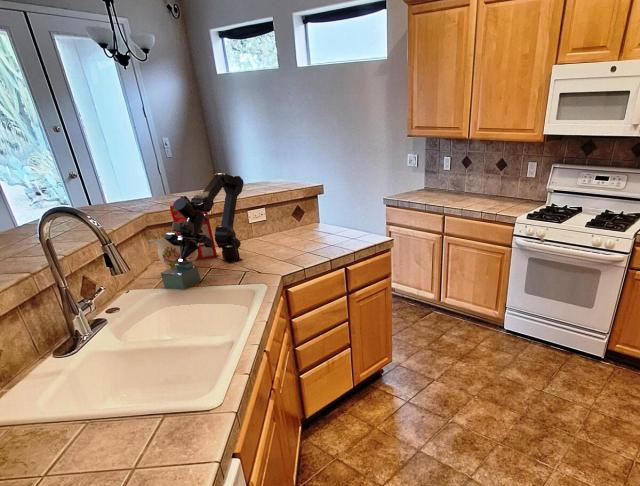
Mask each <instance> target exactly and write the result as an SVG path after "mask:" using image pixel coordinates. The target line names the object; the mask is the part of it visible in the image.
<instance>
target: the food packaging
mask: <svg viewBox="0 0 640 486" xmlns="http://www.w3.org/2000/svg"><path fill="white" fill-rule="evenodd" d="M173 204H174V203H170V204H169V210H170V213H171V217H172V222H177V223H185V222H186V221H187V220H188V218H184V217H183V216H182V215H181V214H180V213H179V212H177V211H176V210H175V209H174V207H173ZM202 213H203V214H204V215H206V217H207V218H208V221H204V222H203V225H202V228H201V230H202V231H203V233H200V234H199V235H206V236H208V237H209V238H210V239H211V240H212V241H213V246H212V248H206V247H205V245H204V244H205V243H200V244H199V247H200V248H199V249H197V250H198V256H197V258H196V259H195V260H194V261H196V260H203V259H209V258H210V259H211V258H218V254H217V249H216V244H215V239H214V234H213V231H212V227H211V223H210V218H209V212H202ZM178 233H179V232H177V231H175V234H176V235H178V236H182V235H180V234H178ZM194 256H195V251H194V252H193V253H191V254H190V255H189V256H188V258H187V259H188V260H190V259H192V258H193V257H194Z"/></svg>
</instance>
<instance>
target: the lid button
mask: <svg viewBox="0 0 640 486" xmlns="http://www.w3.org/2000/svg"><path fill="white" fill-rule="evenodd" d="M178 263H179V264H180V265H182V264H188V263H189V262H188V259H185V260H182V259H180V260H178Z"/></svg>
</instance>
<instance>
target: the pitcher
mask: <svg viewBox="0 0 640 486" xmlns="http://www.w3.org/2000/svg"><path fill="white" fill-rule="evenodd" d="M147 242H149V243H151V244H153V245H154V246H155V247H156V248H157V254H158V257H159V260H160V262H161V264H162V265H163V267H164V268H165V269H166V271H167V270H169V269H171V268H174V267H175V263H177V262H178V260H180V259H181V253H180V246H174V245H172V244H171V243H169V242H168V241H167V240H166V239H164V237H160V238H153V239H149V240H147ZM197 256H198V250H195V256H194V257H193V258H192V259H190V260H188V261H193V262H195V261H196V260H197V259H196V258H197ZM187 258H188V257H187ZM187 258H186V259H187ZM195 259H196V260H195Z"/></svg>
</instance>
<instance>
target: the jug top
mask: <svg viewBox="0 0 640 486" xmlns="http://www.w3.org/2000/svg"><path fill="white" fill-rule="evenodd" d="M188 262H189V263H188V264H182V265H180V264H179V263H178V262H177V263H175V267H174V268H171V269H169V270H167V269H166V270H165V271H162V272H160V276H161V280H162V284H163V287H164V289H170V290H171V289H172V290H184V291H185V290H186V289H187V290H188V288H191V287H192V286H195V285H196V284H198V283H200V282H201V275H200V271H199V267H198V266H195V265H194V261H188Z"/></svg>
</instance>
